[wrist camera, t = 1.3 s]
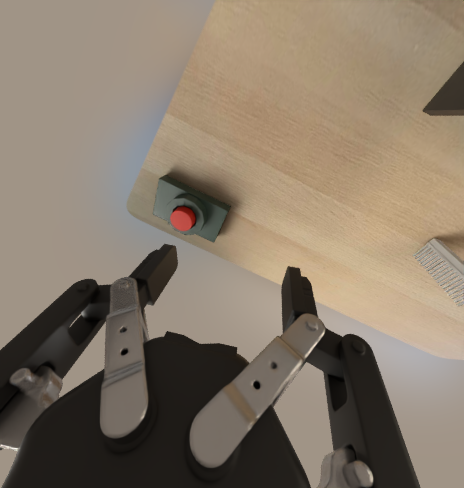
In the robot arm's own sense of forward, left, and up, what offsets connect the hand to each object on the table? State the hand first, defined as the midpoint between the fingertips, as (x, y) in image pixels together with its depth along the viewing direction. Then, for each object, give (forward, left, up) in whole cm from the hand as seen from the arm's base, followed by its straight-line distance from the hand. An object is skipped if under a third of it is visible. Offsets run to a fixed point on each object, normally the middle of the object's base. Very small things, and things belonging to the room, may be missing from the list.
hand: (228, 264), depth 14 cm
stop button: (+1, -12, -16) cm, 20 cm away
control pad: (+1, -12, -20) cm, 23 cm away
